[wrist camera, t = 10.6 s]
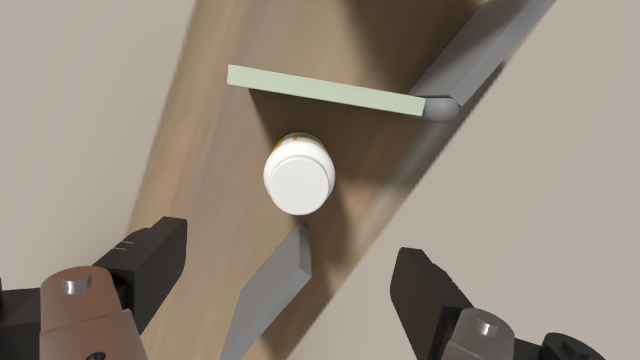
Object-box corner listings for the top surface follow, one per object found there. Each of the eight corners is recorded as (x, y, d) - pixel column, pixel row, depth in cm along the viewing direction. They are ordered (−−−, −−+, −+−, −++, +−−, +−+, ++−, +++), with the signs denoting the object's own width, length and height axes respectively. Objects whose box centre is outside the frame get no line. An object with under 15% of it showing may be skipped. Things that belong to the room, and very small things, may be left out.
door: (393, 98, 29) (425, 98, 21) (390, 111, 29) (421, 116, 22) (248, 73, 28) (228, 64, 20) (247, 87, 28) (227, 83, 20)
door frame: (480, 2, 27) (563, -43, 19) (492, 15, 28) (579, -23, 19) (239, 290, 33) (217, 358, 24) (251, 298, 33) (234, 368, 25)
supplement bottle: (283, 194, 31) (275, 236, 21) (262, 142, 29) (244, 163, 20) (335, 176, 31) (350, 210, 21) (317, 123, 29) (325, 135, 20)
